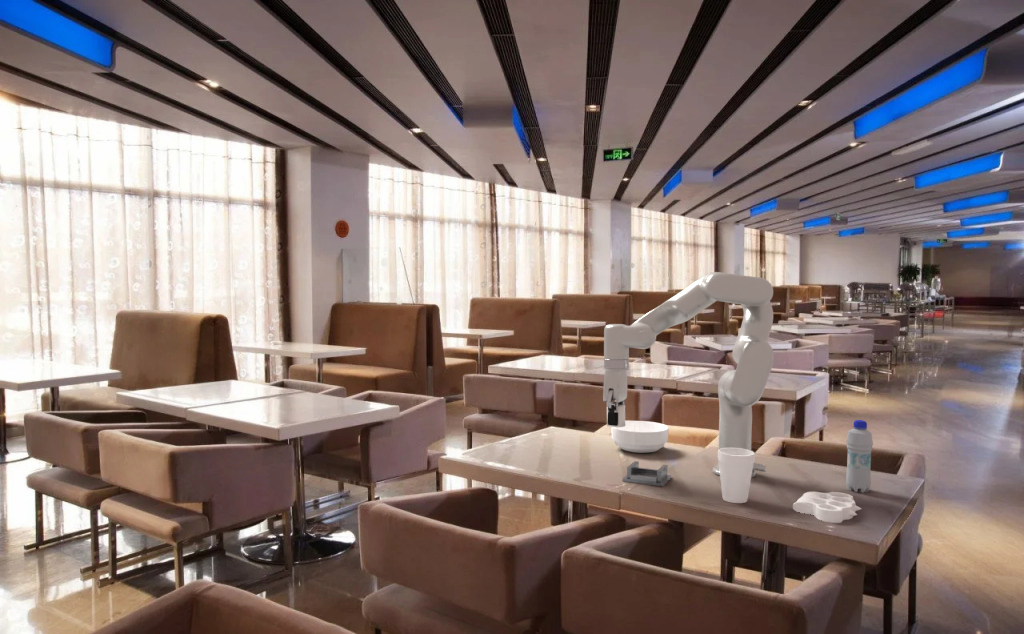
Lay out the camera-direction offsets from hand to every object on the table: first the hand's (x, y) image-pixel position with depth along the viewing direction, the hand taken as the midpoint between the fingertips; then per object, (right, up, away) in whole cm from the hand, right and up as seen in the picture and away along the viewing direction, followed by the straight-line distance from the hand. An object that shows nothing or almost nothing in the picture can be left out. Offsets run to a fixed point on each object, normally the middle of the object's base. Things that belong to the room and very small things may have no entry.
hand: (616, 422), depth 215 cm
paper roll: (0, -1, 0) cm, 1 cm away
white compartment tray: (+49, -18, -35) cm, 63 cm away
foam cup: (+28, -17, -26) cm, 42 cm away
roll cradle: (+8, -16, -8) cm, 19 cm away
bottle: (+66, -17, -17) cm, 70 cm away
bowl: (+12, -14, +29) cm, 34 cm away
